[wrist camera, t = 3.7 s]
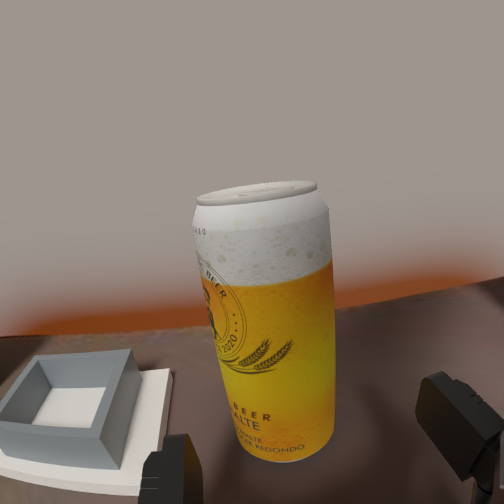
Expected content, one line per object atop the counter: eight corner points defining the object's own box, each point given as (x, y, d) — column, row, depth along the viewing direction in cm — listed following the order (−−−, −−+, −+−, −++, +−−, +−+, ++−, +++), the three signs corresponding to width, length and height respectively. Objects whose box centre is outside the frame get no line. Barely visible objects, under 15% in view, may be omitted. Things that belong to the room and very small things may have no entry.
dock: (173, 379, 25) (160, 337, 24) (159, 496, 14) (132, 454, 13) (40, 385, 24) (23, 349, 23) (-10, 472, 13) (-41, 431, 12)
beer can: (227, 419, 20) (179, 196, 16) (307, 392, 22) (288, 178, 18) (257, 483, 15) (201, 206, 10) (352, 443, 16) (354, 181, 12)
